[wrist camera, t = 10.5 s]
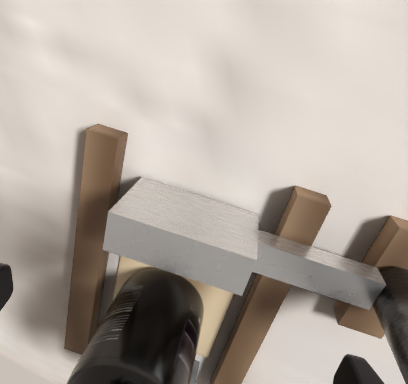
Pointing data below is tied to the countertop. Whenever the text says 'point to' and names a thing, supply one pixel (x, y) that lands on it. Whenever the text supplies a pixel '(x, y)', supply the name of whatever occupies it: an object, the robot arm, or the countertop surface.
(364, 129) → the countertop surface
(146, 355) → the supplement bottle
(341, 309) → the press base
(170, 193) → the bar
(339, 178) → the countertop surface
